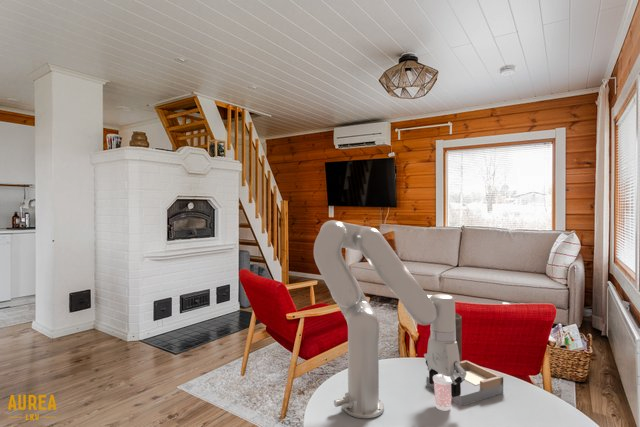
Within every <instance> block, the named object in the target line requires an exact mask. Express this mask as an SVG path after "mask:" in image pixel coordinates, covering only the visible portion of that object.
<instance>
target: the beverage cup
mask: <svg viewBox="0 0 640 427" xmlns="http://www.w3.org/2000/svg"><path fill="white" fill-rule="evenodd" d="M433 381H434V389H433V390H434V404H435V408H436V409H438V410H440V411H450V410H451V409H452V400H451V397H452V395H451V383H453V382H452V380H451V378H450V376H445V375H443V374H439V373H438V374H436V375H434V376H433Z"/></svg>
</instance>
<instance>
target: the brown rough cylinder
mask: <svg viewBox="0 0 640 427" xmlns="http://www.w3.org/2000/svg"><path fill="white" fill-rule="evenodd" d="M462 317H463V316H462V315H460V314H459V313H456V312H455V324H456V342H457V345H458V351H459V359H460V362H461V361H462V355H463V354H462V348H463V347H462V335H463V333H462V332H463V331H462V327H463V326H462V320H463V318H462Z"/></svg>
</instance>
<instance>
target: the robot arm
mask: <svg viewBox="0 0 640 427" xmlns="http://www.w3.org/2000/svg"><path fill="white" fill-rule="evenodd" d="M342 248H343V249H348V250H353V251H354V250H355V251H359V252H360V253H361V254H362V256H364V258H365V259H366V261H367V262H368V264H369V265H370V266H371V268H372V269H373V271H374V272H375V273H376V275H377V276H378V277H379V279H380V280H381V281H382V282H383V283H384V285H385V286H386V287H387V288H388V289H389V290H390V291H391V292H393V294H394V296H396V298H397V299H398V300H399V301H400V302H401V304H402V305H403V309H404V310H405V312H406V314H407V315H408V316H409V317H410V318H411V319H412V320H413V321H414V322H415V323H417V324H418V325H421V326H429V325H430V328H429V330H430V335H429V338H428V342H427V353H426V352H425V353H424V354H423V356H424V360H425V364H426V366H427V371H428V376H429V383H430V384H434V381H433V376H434V375H436V374H439V373H441V374H443V375H445V376H450V378H451V380H452V382H453V383H451V395H452V397H456V396H460V395H461V383H462V381H464V380H465V377H466V374H467V373H466V372H465V370H464V369H463V368H462V367H461V366H460V359H459V351H458V345H457V342H456V324H455V313H456V301H455V298H454V297H453V296H452V295H449V294H445V293H444V294H443V293H442V294H441V293H440V294H439V293H438V294H434V295H433V294H428V293H426V291H425V290H424V289H423V288H422V286H421V284H419V282H418V281H417V279H416V278H415V277H414V276H413V275H412V273H411V272H410V271H409V269H408V268H407V266H405V264H404V263H403V262H402V259H401V258H400V257H399V256H398V254H397V253H396V252H395V250H394V249H393V247H392V246H391V245H390V243H389V242H388V241H387V239H386V238H385V237H384V235H383V234H382V233H381V232H380V231H379V230H378V229H377V228H375V227H371V226H365V225H359V224H354V223H348V222H344V221H339V220H335V219H332V220H328V221H325V222H324V223H323V224H322V225H321V227H320V230H319V232H318V235H317V236H316V239H315V241H314V244H313V258H314V262H315V265H316V266H317V269H318V270H319V273H320V275H321V277H322V278H323V281H324V282H325V285H326V286H327V288H328V290H329V292H330V295H331V298H332V299H333V301H334V302H335V303H336V304H337V306H338V307H339V310H340V311H341V314H342V315H343V317H344V319H345V321H346V323H347V392H345V393H344V397H342V398H338V399H334V400H333V405H334V407H335V408H338V407H341V409H342V410H344V411H345V413H347V414H348V415H349V416H351V417H355V418H358V419H373V418H377V417H379V416H380V415H382V414H383V412H384V411H385V405H384V403H383V401H382V400H380V393H379V392H380V390H379V388H380V387H379V386H380V384H379V381H380V380H379V379H380V378H379V373H380V372H379V369H380V368H379V360H380V359H379V344H380V343H379V342H380V332H381V331H380V330H381V329H380V328H381V326H380V320H379V318H378V315H377V314H376V312H375V310H374V309H373V307H372V306H371V304H370V302H369V300H368V299H367V297H366V295H365V293H364V292H363V290H362V288H361V286H360V284H359V282H358V280H357V278H356V277H355V276H354V275H353V274H352V272H351V270H350V268H349V267H348V264H347V262H346V260H345V258H344V256H343V253H342ZM453 375H455V376H456V379H455V378H454V376H453Z"/></svg>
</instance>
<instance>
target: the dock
mask: <svg viewBox="0 0 640 427" xmlns="http://www.w3.org/2000/svg"><path fill="white" fill-rule="evenodd" d="M460 366H461V367H462V368H463V369H464V370H465V372H466V373H467V374H466V377H465V380H464V381H462V383H461V395H460V396H456V397H451V402H452V401H453V402H454V403H456V404H457V405H459V406H465V405H468V404H472V403H475V402H478V401H479V402H480V401H481V400H482V401H483V400H485V399H489V398H493V397H496V396H499V395H503V394H504V376H502V375H500V374H498V373H496V372H494V371H491V370H489V369H487V368H484V367H482V366H480V365H478V364H476V363H473V362H471V361H469V360H467V359H466V360H461V362H460ZM438 374H441V373H439V372H438ZM453 376H454V378H455V379H456V376H455V375H453ZM426 386H428V387H429V388H431V389H433V390H434V384H430V383H429V375H428V376H427V375H426Z"/></svg>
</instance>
